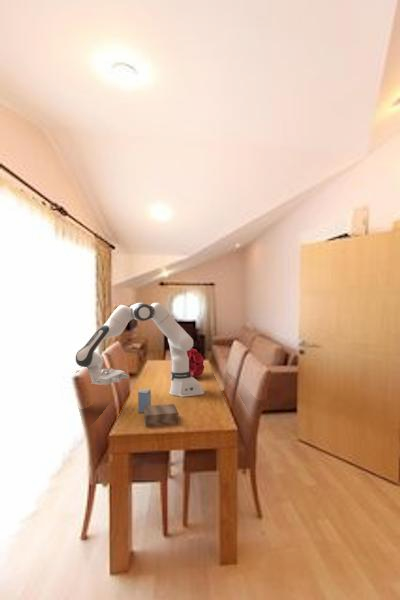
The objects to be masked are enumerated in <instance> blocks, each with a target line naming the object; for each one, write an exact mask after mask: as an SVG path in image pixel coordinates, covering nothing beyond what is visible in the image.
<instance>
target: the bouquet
mask: <svg viewBox="0 0 400 600" xmlns="http://www.w3.org/2000/svg"><path fill="white" fill-rule="evenodd" d="M187 355H188V358H189V371H191V372H193V373H194V375H193V376H192V377H193V378H196V377H200V376H201V375H202V374H203V373H204V370H205V365H204V361H205V360H204V356H203V355H202V354H201V353H200V352H199V351H198V350H197V349H194V348H191V349H190V350H188V351H187Z"/></svg>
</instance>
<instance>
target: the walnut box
mask: <svg viewBox="0 0 400 600" xmlns="http://www.w3.org/2000/svg"><path fill="white" fill-rule="evenodd" d="M143 420H144V423H145V428H149V427H150V428H151V427H161V426H174V425H179V411H178V409H177V406H176V405H175V403H172V404H171V403H170V404H160V405H158V404H157V405H151V406H144V413H143Z"/></svg>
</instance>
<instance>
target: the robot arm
mask: <svg viewBox="0 0 400 600" xmlns="http://www.w3.org/2000/svg"><path fill="white" fill-rule="evenodd" d="M150 319H151V320H152V321H153V322H154V325H156V327H157V328H158V330H160V332H161V333H162V334H164V336H165V337H166V338H167V342H168V345H169V351H170V358H171V371H170V372H171V373H170V380H171V383H170V389H169V394H170V395H171V396H174V397H175V396H177V397H181V398H185V397H193V396H200V395H201V396H202V395H204V394H205V389H203V388H202V386H201V383H200V381H198V380H197V379H196V377H192V376H193V375H194V373H193V372H191V371H189V358H188V355H187V351H188V350H190V349H193V347H194V339H193V338H192V337H191V335H190V334H189V333H187V332H186V330H185V329H184V328H183V327H182V326H181V325H180V324H179V323H178V322H177V321H176V320H175V318H174V317H173V316H172V314H171V313H170V311H168V309H166V308H165V307H164V306H163V305H162V303H161V302H153V303H151V304H150V305H149V304H148V303H144V302H134V303H133V304H131V305H129V306H128V305H125V304H120V305H118V306H117V308H115V310H114V311H113V312H112V314H111V315H110V316H109V317H108V319H107V321H106V322H105V323H104V324H103V325H102V326H100V327H99V328H98V329H97V330H96V331H95V332H94V333H93V335H92V336H91V337H90V338H89V340H88V341H87V342H86V344H85V345H83V347H81V348H80V349H78V351H77V352H76V354H75V363H76V365H78V366H79V368H77V369H76V371H75V374H76V373H77V372H79V371H80V370H81V369H83V368H85V367H87V368H88V373H89V375H90V378H91V381H92V383H91V384H94V385H101V386H108V385H111V384H113V383H120V382H121V380H122V379H129V378H130V375H129V374H126V372H125V371H124V370H120V369H113V368H111V367H110V368H103V365H104V357H103V355H102V354H100V353H98V352H95V351H96V350H97V348H98V347H99V346H100V345H101V343H103V341H104V340H106V339H108V338H116V337H118V336H120V335H122V333H123V332H124V331H125V329H126V327H127V326H128V323H130V321H132V320H135V321H140V322H145V321H148V320H150Z"/></svg>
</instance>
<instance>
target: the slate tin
mask: <svg viewBox="0 0 400 600" xmlns="http://www.w3.org/2000/svg"><path fill="white" fill-rule="evenodd" d="M151 391H152V388H146V387H145V388H144V387H143V388H140V389H139V390H137V393H138V395H137V396H138V398H137V399H138V400H137V401H138V405H137V406H138V407H137V408H138V409H137V410H138V413H141V414H144V406H152V404H151V403H152V402H151V398H152V397H151Z"/></svg>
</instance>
